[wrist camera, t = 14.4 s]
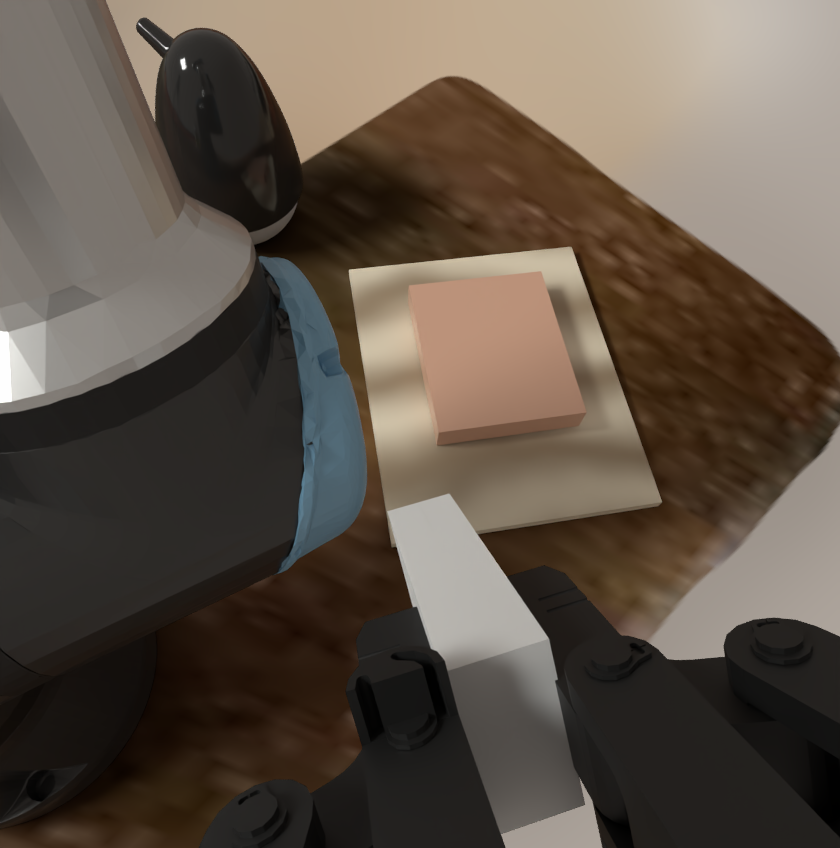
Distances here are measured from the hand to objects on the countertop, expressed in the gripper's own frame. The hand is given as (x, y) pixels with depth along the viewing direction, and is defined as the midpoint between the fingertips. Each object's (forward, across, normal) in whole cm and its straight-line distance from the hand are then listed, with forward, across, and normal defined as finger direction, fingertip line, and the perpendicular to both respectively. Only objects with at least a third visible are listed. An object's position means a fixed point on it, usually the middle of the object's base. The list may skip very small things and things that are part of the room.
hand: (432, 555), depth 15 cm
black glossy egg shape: (+43, -5, +14) cm, 45 cm away
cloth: (+31, +10, -2) cm, 33 cm away
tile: (+27, +9, -5) cm, 29 cm away
